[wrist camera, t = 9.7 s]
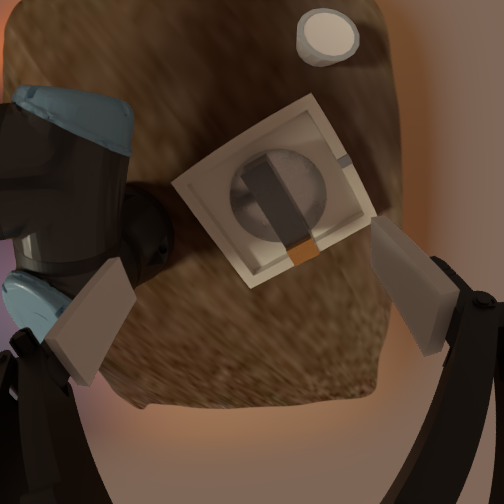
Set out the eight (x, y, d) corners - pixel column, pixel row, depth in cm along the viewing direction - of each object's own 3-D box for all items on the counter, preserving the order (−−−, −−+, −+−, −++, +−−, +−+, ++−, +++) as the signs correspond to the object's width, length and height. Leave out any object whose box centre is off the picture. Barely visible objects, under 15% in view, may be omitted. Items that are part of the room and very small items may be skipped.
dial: (212, 180, 34) (197, 197, 27) (296, 130, 31) (306, 133, 24) (261, 254, 39) (260, 287, 31) (340, 212, 35) (359, 237, 28)
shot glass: (336, 78, 30) (352, 70, 24) (285, 62, 29) (290, 49, 23) (348, 36, 27) (365, 21, 21) (297, 19, 26) (305, 0, 20)
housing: (251, 275, 43) (250, 290, 39) (178, 176, 37) (169, 183, 33) (369, 210, 37) (379, 220, 34) (306, 95, 31) (311, 92, 28)
